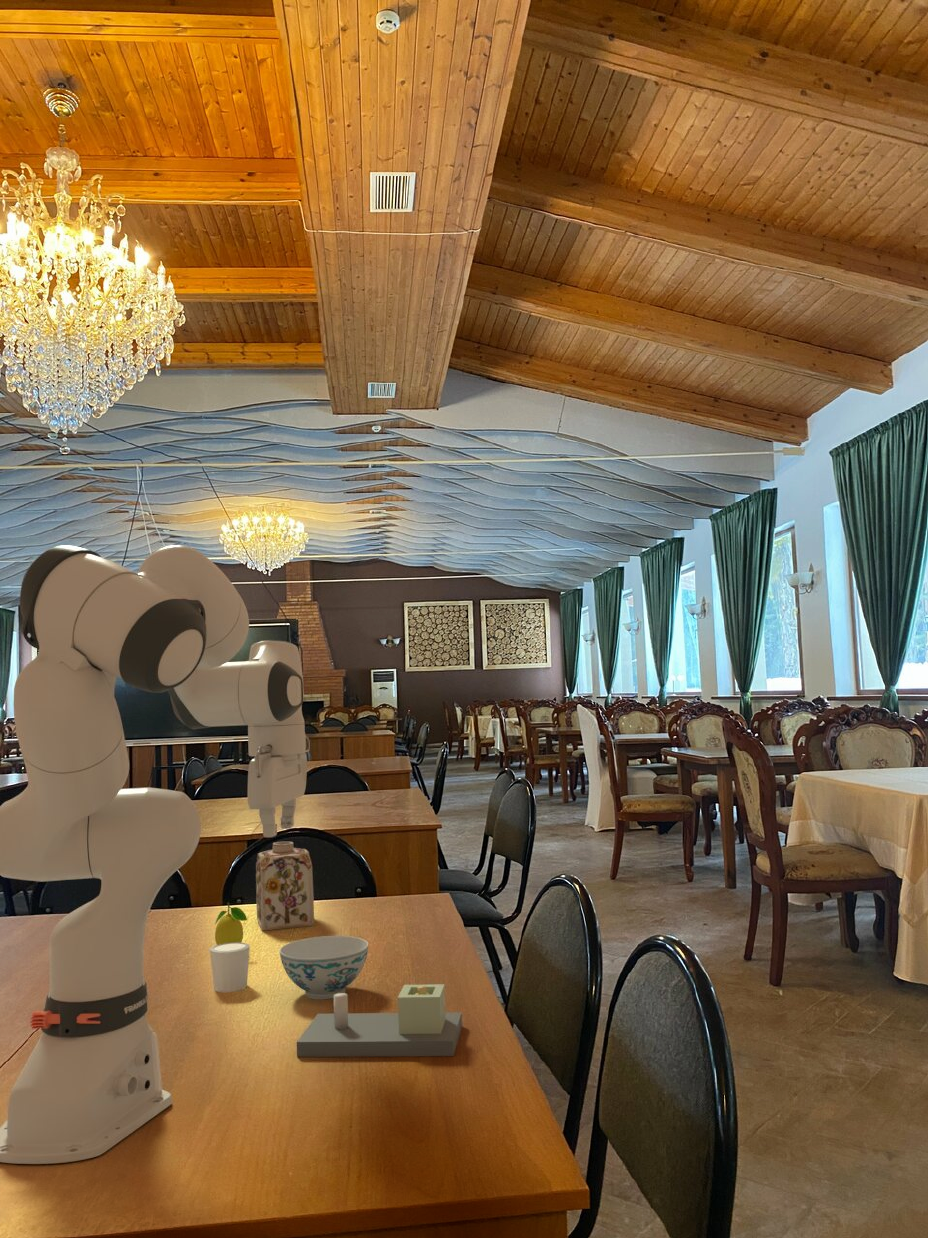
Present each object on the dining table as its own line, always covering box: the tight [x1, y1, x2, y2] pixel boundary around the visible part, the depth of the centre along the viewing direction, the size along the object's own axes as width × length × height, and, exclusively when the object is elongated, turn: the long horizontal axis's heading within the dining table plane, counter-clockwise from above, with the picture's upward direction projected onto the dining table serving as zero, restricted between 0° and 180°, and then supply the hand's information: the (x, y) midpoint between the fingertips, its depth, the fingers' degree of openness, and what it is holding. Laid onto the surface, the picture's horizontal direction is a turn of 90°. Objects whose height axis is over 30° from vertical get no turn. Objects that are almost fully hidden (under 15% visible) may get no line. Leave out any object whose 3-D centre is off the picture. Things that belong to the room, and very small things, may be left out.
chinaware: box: [279, 935, 369, 1000], centre depth 163 cm, size 15×15×8 cm
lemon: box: [214, 902, 248, 945], centre depth 192 cm, size 7×6×10 cm
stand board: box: [296, 986, 463, 1058], centre depth 139 cm, size 12×22×8 cm, turn 85°
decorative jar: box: [255, 841, 315, 932], centre depth 217 cm, size 12×12×18 cm
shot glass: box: [209, 942, 251, 993], centre depth 169 cm, size 7×7×7 cm
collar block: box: [397, 983, 446, 1034], centre depth 138 cm, size 6×6×5 cm
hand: (279, 832), depth 150 cm, fingers open, 8 cm apart
